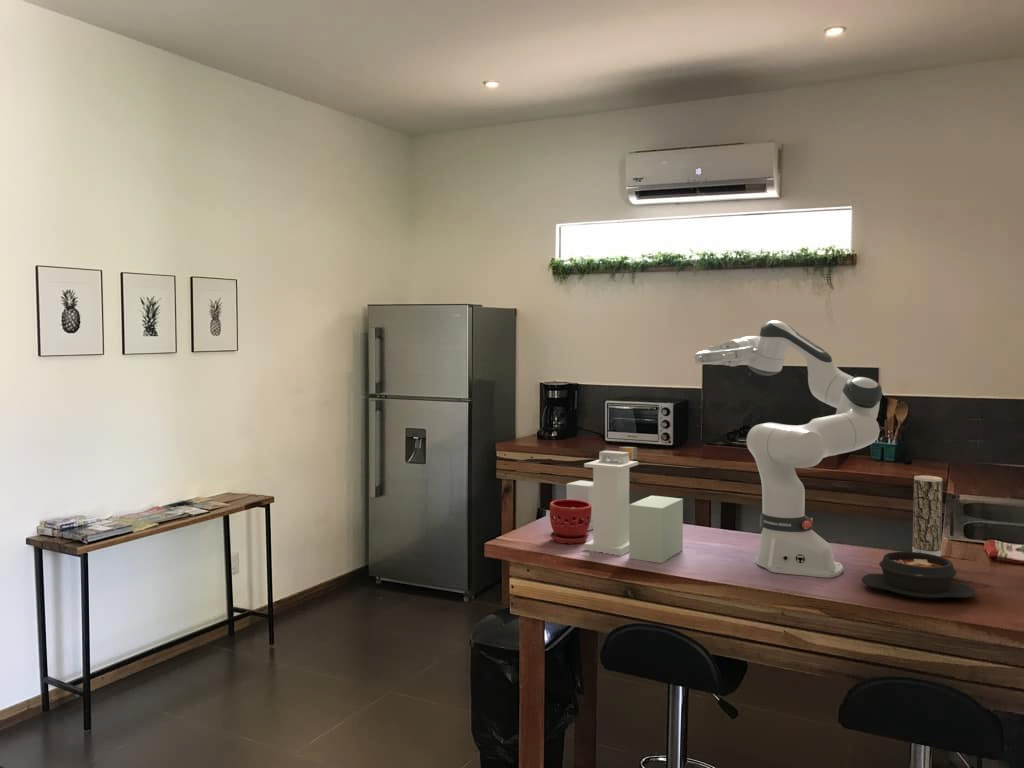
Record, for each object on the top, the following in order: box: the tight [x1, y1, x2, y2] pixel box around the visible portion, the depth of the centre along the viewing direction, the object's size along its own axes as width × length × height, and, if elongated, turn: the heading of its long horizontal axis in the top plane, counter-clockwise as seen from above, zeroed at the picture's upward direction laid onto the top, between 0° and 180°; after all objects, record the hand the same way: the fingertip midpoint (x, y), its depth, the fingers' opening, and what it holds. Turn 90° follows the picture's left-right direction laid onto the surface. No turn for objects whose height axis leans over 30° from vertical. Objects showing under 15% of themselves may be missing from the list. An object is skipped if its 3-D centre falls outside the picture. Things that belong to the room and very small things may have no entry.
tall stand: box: [583, 449, 639, 557], centre depth 238 cm, size 12×12×29 cm
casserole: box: [861, 551, 977, 600], centre depth 195 cm, size 25×19×8 cm
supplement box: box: [565, 479, 593, 532], centre depth 267 cm, size 9×9×15 cm
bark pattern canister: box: [912, 475, 943, 557], centre depth 214 cm, size 7×7×25 cm
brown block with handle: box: [608, 446, 638, 462], centre depth 243 cm, size 4×14×4 cm, turn 147°
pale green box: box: [628, 495, 684, 564], centre depth 231 cm, size 10×16×16 cm, turn 147°
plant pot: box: [549, 498, 592, 545], centre depth 248 cm, size 13×13×12 cm
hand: (710, 358), depth 258 cm, fingers open, 8 cm apart
